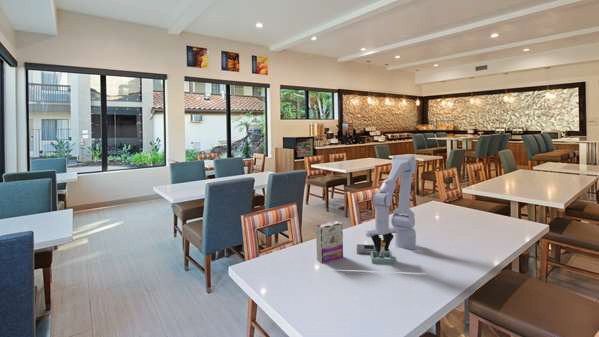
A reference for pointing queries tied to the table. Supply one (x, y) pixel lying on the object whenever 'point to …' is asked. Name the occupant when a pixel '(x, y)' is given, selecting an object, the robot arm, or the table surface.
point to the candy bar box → (329, 241)
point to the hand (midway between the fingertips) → (381, 250)
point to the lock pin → (381, 249)
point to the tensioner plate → (366, 249)
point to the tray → (382, 261)
